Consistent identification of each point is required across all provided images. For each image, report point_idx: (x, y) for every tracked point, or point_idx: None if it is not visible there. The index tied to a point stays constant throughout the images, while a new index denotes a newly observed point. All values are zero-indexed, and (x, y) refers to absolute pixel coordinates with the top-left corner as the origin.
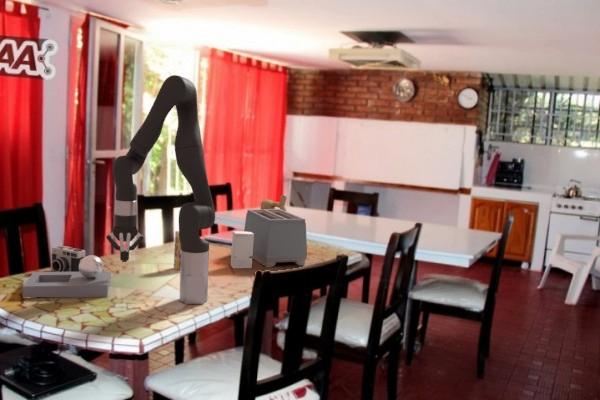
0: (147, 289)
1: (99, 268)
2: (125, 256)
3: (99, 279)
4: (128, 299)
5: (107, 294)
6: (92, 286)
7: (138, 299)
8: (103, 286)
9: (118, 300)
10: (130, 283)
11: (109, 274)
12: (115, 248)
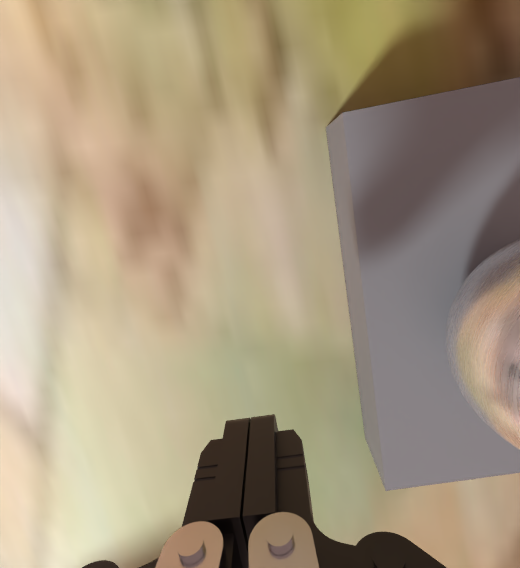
0: (115, 317)
1: (489, 285)
2: (232, 461)
3: (434, 275)
4: (171, 79)
5: (329, 140)
6: (463, 90)
7: (105, 87)
8: (372, 109)
9: (232, 45)
10: None
11: (381, 414)
12: (413, 554)
